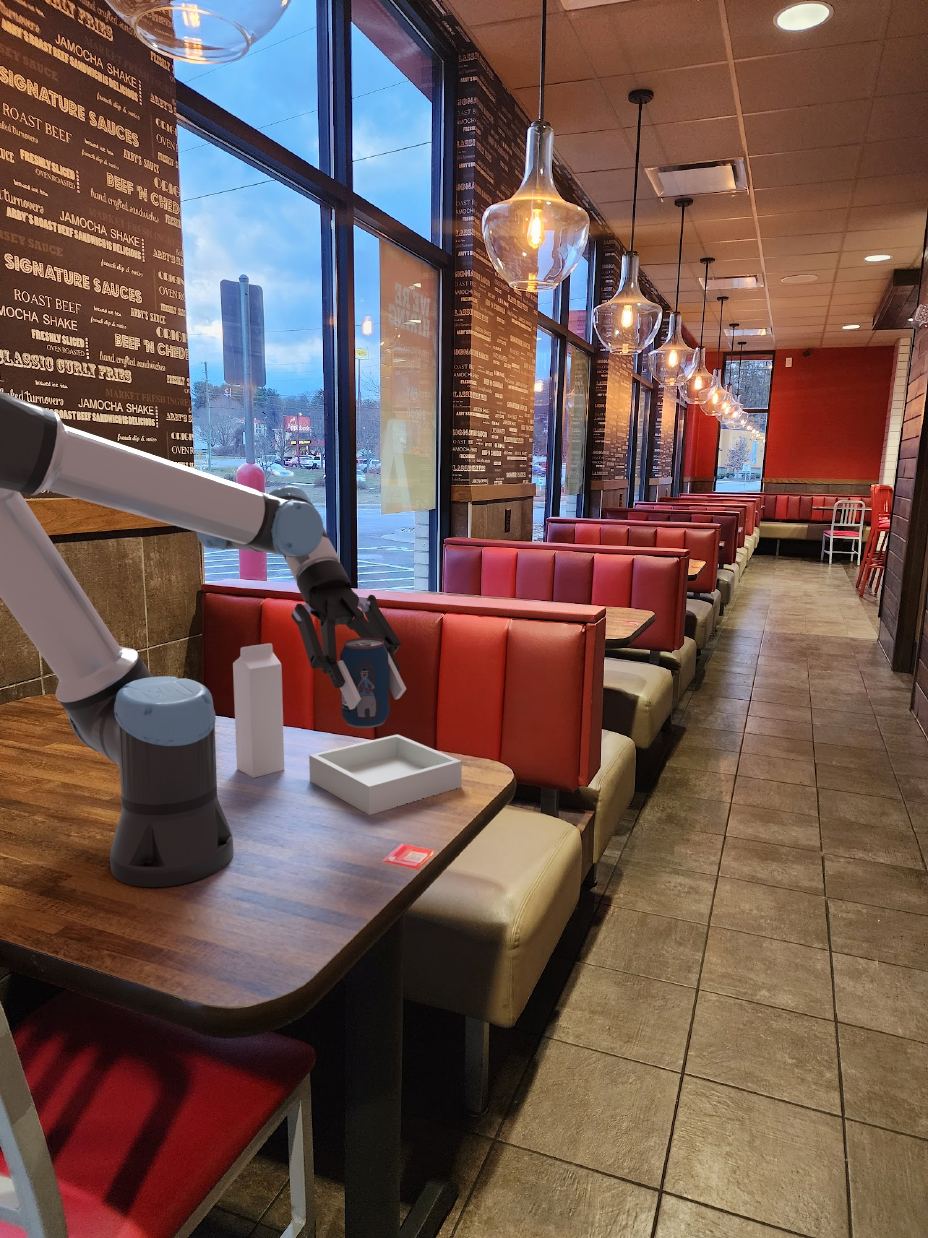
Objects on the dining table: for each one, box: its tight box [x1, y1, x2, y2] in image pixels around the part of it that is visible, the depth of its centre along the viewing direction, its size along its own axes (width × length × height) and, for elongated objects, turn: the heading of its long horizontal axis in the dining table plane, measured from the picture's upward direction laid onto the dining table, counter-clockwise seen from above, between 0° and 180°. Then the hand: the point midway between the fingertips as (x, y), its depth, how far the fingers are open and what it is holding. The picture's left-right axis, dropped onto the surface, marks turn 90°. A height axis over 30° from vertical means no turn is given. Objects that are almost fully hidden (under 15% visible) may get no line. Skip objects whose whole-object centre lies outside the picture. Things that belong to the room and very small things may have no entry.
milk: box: [232, 643, 285, 779], centre depth 136 cm, size 6×6×22 cm
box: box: [308, 734, 463, 816], centre depth 131 cm, size 18×18×4 cm
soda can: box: [339, 637, 390, 729], centre depth 115 cm, size 7×7×12 cm
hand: (378, 699), depth 113 cm, fingers closed on soda can, 7 cm apart
